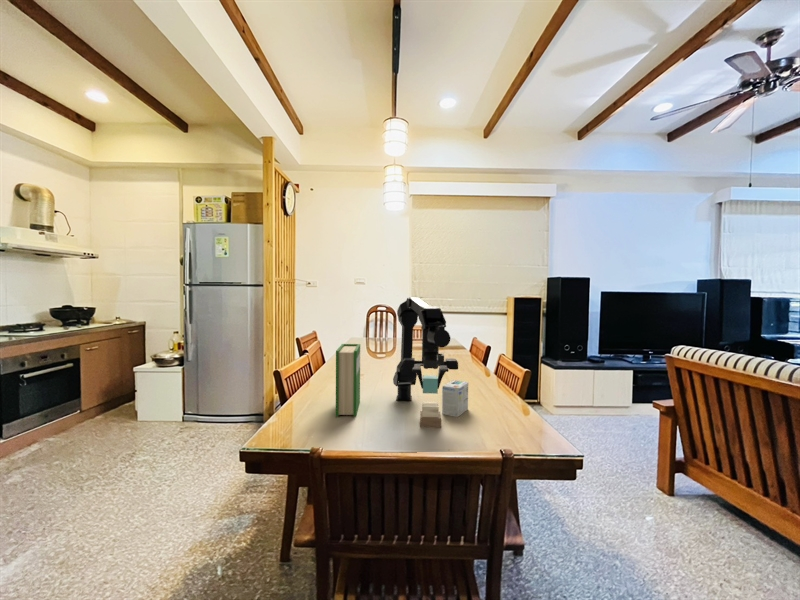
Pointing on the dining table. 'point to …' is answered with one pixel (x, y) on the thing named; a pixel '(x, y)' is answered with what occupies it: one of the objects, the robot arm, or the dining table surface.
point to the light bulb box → (455, 398)
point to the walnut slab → (430, 421)
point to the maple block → (430, 409)
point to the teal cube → (430, 384)
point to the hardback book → (347, 379)
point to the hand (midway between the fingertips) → (430, 388)
